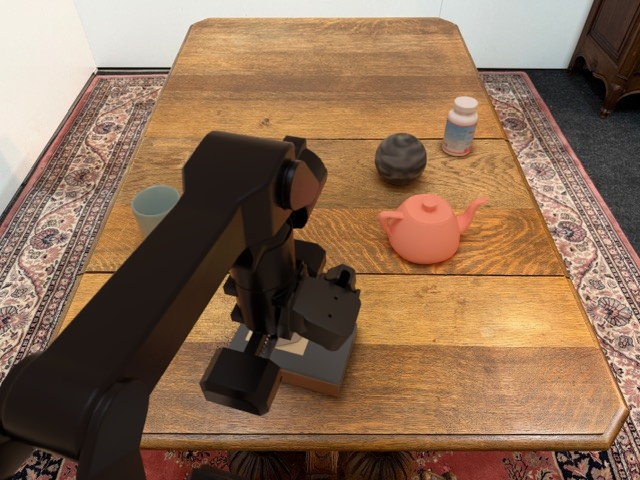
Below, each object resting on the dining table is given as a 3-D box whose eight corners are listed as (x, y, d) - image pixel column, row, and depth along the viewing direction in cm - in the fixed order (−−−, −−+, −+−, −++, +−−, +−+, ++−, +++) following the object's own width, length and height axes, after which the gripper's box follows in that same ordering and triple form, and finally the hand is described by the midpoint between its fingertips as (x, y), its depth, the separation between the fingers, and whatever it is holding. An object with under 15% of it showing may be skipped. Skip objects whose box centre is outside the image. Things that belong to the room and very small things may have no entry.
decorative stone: (426, 169, 97) (434, 127, 90) (418, 199, 90) (426, 156, 83) (378, 161, 99) (382, 119, 92) (367, 190, 93) (371, 147, 85)
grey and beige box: (338, 397, 62) (338, 385, 60) (227, 366, 66) (224, 354, 64) (358, 328, 70) (359, 316, 68) (258, 303, 73) (256, 291, 71)
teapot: (369, 222, 86) (372, 181, 79) (465, 214, 87) (476, 173, 80) (382, 272, 77) (387, 231, 71) (488, 263, 79) (503, 221, 72)
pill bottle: (470, 158, 99) (482, 111, 91) (440, 155, 100) (450, 107, 92) (470, 143, 104) (481, 95, 96) (441, 139, 105) (451, 93, 97)
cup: (171, 222, 87) (157, 178, 80) (201, 239, 84) (190, 195, 76) (138, 247, 82) (120, 203, 75) (168, 266, 79) (152, 222, 72)
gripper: (321, 387, 33) (324, 466, 44) (377, 211, 45) (368, 308, 56) (178, 348, 35) (215, 432, 46) (268, 191, 47) (280, 288, 59)
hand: (277, 358), depth 52 cm, fingers open, 9 cm apart
